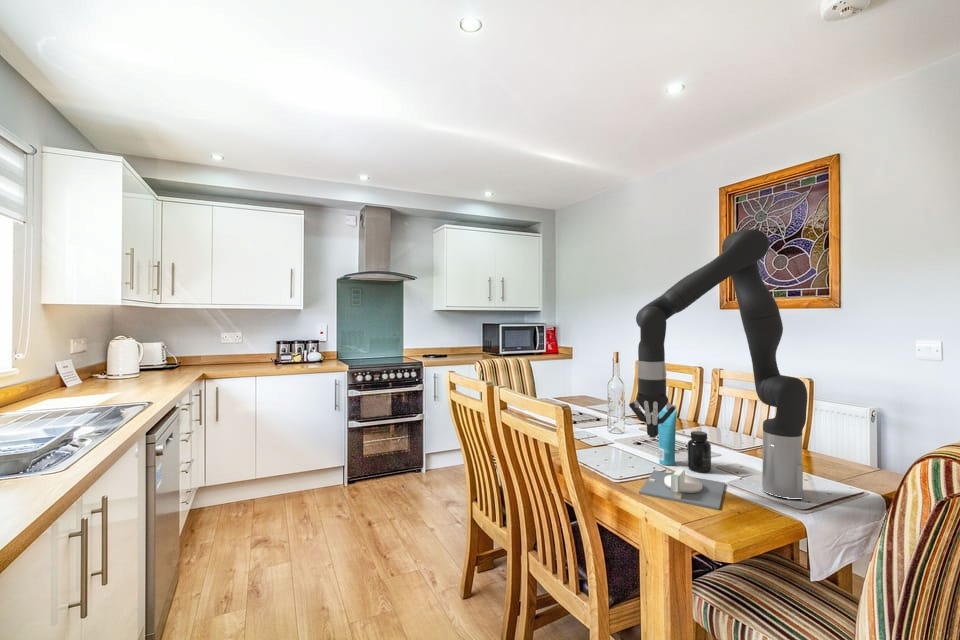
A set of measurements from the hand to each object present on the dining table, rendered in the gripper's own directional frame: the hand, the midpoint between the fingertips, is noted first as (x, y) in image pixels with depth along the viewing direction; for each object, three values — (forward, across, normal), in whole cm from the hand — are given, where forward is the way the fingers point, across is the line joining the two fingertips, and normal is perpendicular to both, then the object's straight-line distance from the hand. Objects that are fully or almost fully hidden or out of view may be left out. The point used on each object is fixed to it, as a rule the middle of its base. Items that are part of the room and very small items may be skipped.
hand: (652, 436), depth 128 cm
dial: (+15, +7, +4) cm, 17 cm away
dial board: (+16, +7, +6) cm, 18 cm away
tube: (+16, -1, +27) cm, 31 cm away
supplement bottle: (+16, +9, +26) cm, 32 cm away
